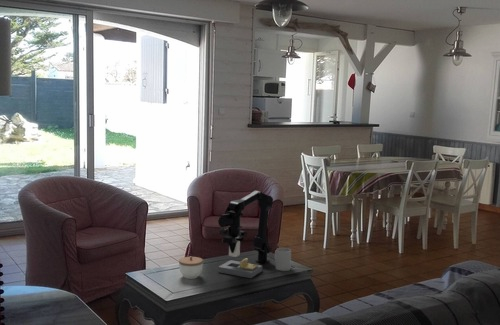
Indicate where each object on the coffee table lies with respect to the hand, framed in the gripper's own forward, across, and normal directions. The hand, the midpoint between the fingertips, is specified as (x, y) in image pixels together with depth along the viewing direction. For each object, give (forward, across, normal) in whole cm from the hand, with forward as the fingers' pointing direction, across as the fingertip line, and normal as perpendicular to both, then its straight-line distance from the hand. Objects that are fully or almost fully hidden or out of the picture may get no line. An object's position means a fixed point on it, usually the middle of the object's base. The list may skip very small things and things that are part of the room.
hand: (234, 251), depth 287 cm
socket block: (+10, 0, +4) cm, 11 cm away
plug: (+2, 0, 0) cm, 2 cm away
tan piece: (+7, 0, +9) cm, 12 cm away
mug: (+11, -18, +21) cm, 30 cm away
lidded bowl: (+11, +21, -15) cm, 28 cm away
